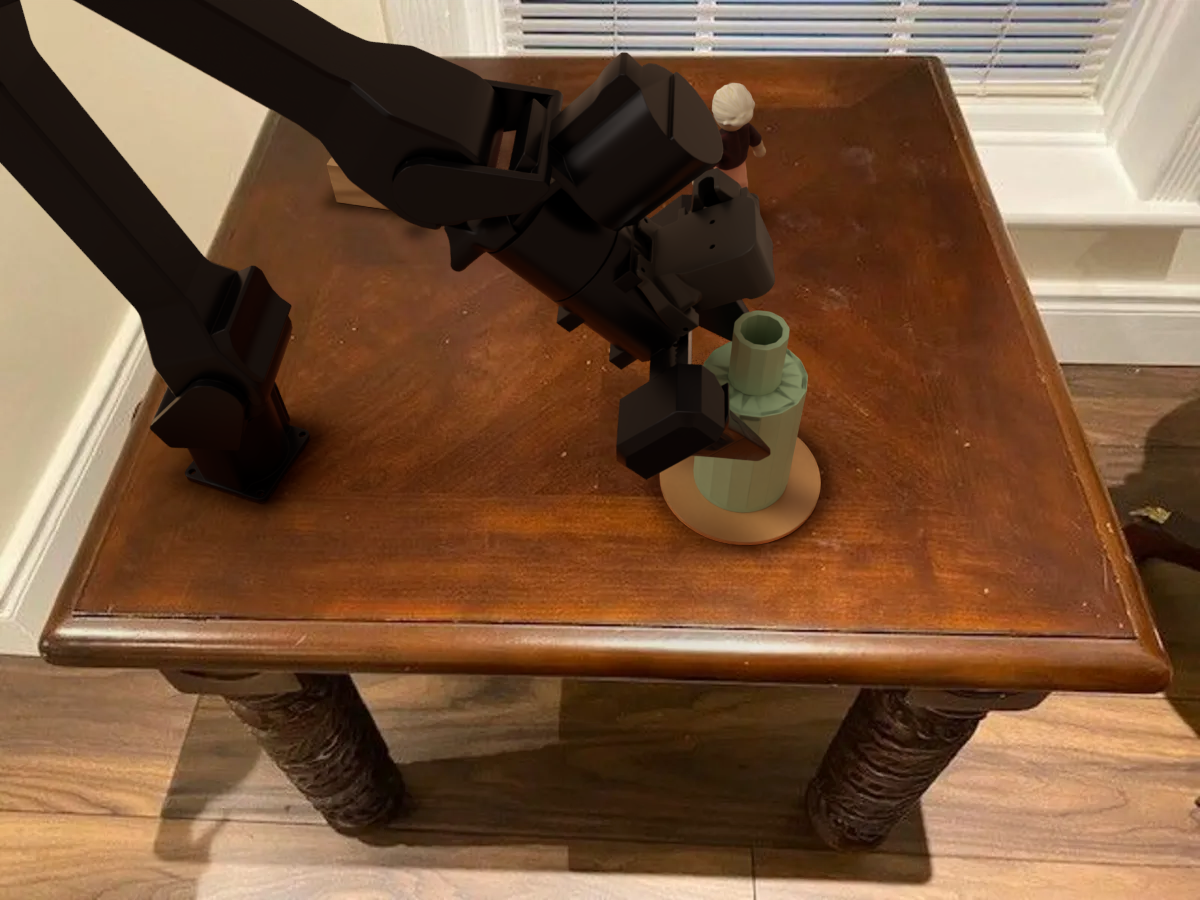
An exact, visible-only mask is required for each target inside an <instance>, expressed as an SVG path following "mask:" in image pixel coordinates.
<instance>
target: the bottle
mask: <svg viewBox="0 0 1200 900" xmlns="http://www.w3.org/2000/svg"><path fill="white" fill-rule="evenodd" d="M789 339H790V327H789V325H788V324H787V321H785V319H784V318H783V317H781V316H780V315H778V314H776V313H774V312H772V311H768V310H767V311H766V310H758V309H757V310H756V309H755V310H752V311H749V312H748V313H745V314H743V315H742V316H741V317H739V318H738V319H737V320H736V321H735V323H734V331H733V339H732V341H728V342H726V343H725V344H723V345H721V346H719V347H717V348H716V349H714V350H713V351H712V352H711V353H710V354H709V355H708V357H707V358H706V360H705V361H704V362H703V364H702V365H703V366H704V367H706V368H707V369H708V370H710V371H711V372H712V373H713V374H715V376H716V378H717V380H718V382H719V383H720V385H721V386H722V385H724V384H725V383H729V398H730V410H731V411H732V412H733V413H734V414H735V415H736V416H738V417H739V418H740V419H741V420H742V421H743V422H744V423H745V424H746V425H747V426H748V427H750V428H751V429H752V430H753V431H754V432H755V433H756V434H757V435H758V436H759V437H760V438H761V439H762V440H763V441H764V442H765V443H766V445H767V446H768V447H769V448H770V451H771V454H770V456H768V457H766V458H764V459H762V460H760V461H748V460H737V459H726V458H715V457H702V456H695V457H694V469H693V472H694V479H695V483H696V485H697V488H698V489H699V491H700V492H701V494H702V495H703V496H704V497H705V498H706V499H707V500H708V501H710V502H711V503H712V504H714V505H716V506H718V507H720V508H722V509H725V510H728V511H733V512H741V513H745V512H755V511H759V510H762V509H764V508H767V507H769V506H770V505H772V504H773V503H775V502H776V501H777V500H778V499H779V498H780V497H781V495H782V494H783V492H784V490H785V488H786V485H787V483H788V479H789V474H790V469H791V464H792V459H793V455H794V450H795V445H796V440H797V437H798V435H799V430H800V425H801V420H802V416H803V411H804V407H805V402H806V397H807V392H808V382H809V381H808V380H809V373H808V372H807V370H806V369H805V368H806V367H805V366H804V364H803V362H802V359H800V358H799V357H798V356H797V355H796V354H794V353H793V351H791V350H790V349H789V348H788V345H789Z"/></svg>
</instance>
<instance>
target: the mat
mask: <svg viewBox="0 0 1200 900" xmlns="http://www.w3.org/2000/svg"><path fill="white" fill-rule="evenodd" d="M694 457H695V456H690V457H688V458H686V459H685V460H683V461H681V462H679V463H677V464H675V465H673V466H672V467H670V468H668V469H666V470H664V471H662V472H661V473H659V485H660V490H661V494H662V496H663V499H664V501H665V503H666V504H667V507H668V508H669V509H670V511H671V513H673V515H674V516H675V517H676V518H677V519H678V520H679V521H680V522H681V523H683V524H684V525H685V526H686V527H687V528H689V529H690V530H692V531H693V532H694V533H697V534H699V535H701V536H703V537H704V538H707V539H710V540H712V541H715V542H719V543H724V544H726V545H727V544H729V545H735V546H755V545H762V544H768V543H771V542H774V541H777V540H781V539H782V538H784V537H786V536H789V535H790V534H792V533H793V532H795V531H797V530H798V529H799V528H801V526H802V525H804V524H805V523H806V522H807V520H808V519H809V518H810V517H811V515H812V513H813V512H814V510H815V508H816V507H817V503H818V501H819V497H820V492H821V485H822V484H821V482H822V480H821V472H820V469H819V466H818V463H817V460H816V458H815V456H814V455H813V453H812V452H811V450H810V448H809V447H808V446H807V444H805V442H804V441H803V440H802V439H801V438H800V437H798V436H797V440H796V445H795V450H794V455H793V459H792V464H791V469H790V474H789V479H788V483H787V485H786V488H785V490H784V492H783V494H782V495H781V497H780V498H779V499H778V500H777V501H776V502H775V503H773V504H772V505H770V506H769V507H767V508H764V509H762V510H759V511H755V512H745V513H741V512H733V511H728V510H725V509H722V508H720V507H718V506H716V505H714V504H712V503H711V502H710V501H708V500H707V499H706V498H705V497H704V496H703V495H702V494H701V492H700V491H699V489H698V488H697V485H696V483H695V479H694V472H693V469H694Z"/></svg>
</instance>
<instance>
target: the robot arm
mask: <svg viewBox="0 0 1200 900" xmlns="http://www.w3.org/2000/svg"><path fill="white" fill-rule="evenodd" d="M72 1H74V2H75V3H77V4H79V5H80V6H83V7H84V8H86V9H88V10H90V11H91V12H93V13H94V14H97V15H98V16H100V17H101V18H103V19H106V20H108V21H110V22H111V23H113V24H115V25H116V26H119V27H120V28H122V29H124V30H126V31H128V32H129V33H131V34H133V35H135V36H137V37H138V38H140V39H142V40H144V41H145V42H146V43H149V44H151V45H153V46H154V47H157V48H158V49H160V50H161V51H163V52H165V53H167V54H169V55H171V56H172V57H174V58H176V59H178V60H180V61H182V63H183V62H184V63H185V64H187V65H189V66H190V67H193V68H194V69H196V70H198V71H200V72H201V73H203V74H205V75H207V76H209V77H210V78H213V79H214V80H216V81H217V82H220V83H221V84H223V85H224V86H227V87H229V88H231V89H233V90H234V91H235V92H237V93H239V94H241V95H243V96H244V97H247V98H249V99H250V100H252V101H254V102H256V103H257V104H259V105H261V106H263V107H265V108H267V109H268V110H270V111H272V112H274V113H276V114H277V115H279V116H281V117H283V118H285V119H286V120H288V121H290V122H291V123H293V124H295V125H297V126H298V127H300V128H301V129H302V130H304V131H306V132H307V133H308V134H309V135H311V136H312V137H313V138H315V139H316V140H318V142H319V143H321V145H322V146H323V147H324V149H325V150H326V151H327V153H328V154H329V155H330V158H331V157H332V158H333V159H334V161H335V162H336V163H337V165H338V166H339V167H340V169H341V170H342V172H343V173H344V174H345V176H346V177H347V178H348V179H349V181H351V182H352V183H353V184H354V185H356V186H357V187H359V188H360V189H361V190H363V191H364V192H365V193H367V194H368V195H370V196H371V197H372V198H374V199H375V200H377V201H378V202H379V203H381V204H382V205H383V206H385V207H386V208H388V209H389V210H388V211H390V212H391V213H393V214H394V215H396V216H397V217H398V218H400V219H402V220H404V221H405V222H407V223H409V224H412V225H414V226H417V227H420V228H421V229H422V228H423V229H426V230H427V229H429V230H433V231H437V230H440V229H441V227H443V229H444V232H445V234H446V237H447V239H448V244H449V253H450V254H449V255H450V264H449V265H450V268H451V269H452V270H453V271H454V272H458V273H461V272H462V271H465V269H467V268H468V267H470V266H471V264H473V263H474V262H475V261H476V260H478V259H479V258H480V257H481V256H482V255H484V254H485V253H487V254H488V255H490V256H491V257H493V258H494V259H495V260H497V261H498V262H499V263H501V264H502V265H503V266H505V267H506V268H507V269H509V270H510V271H512V272H513V273H514V274H516V275H517V276H518V277H520V278H521V279H522V280H524V281H525V282H526V283H528V284H529V285H531V286H532V287H533V288H535V289H536V290H538V291H539V292H540V293H541V294H543V295H544V296H546V297H547V298H549V299H550V300H551V301H553V302H554V303H555V304H556V305H557V307H558V308H557V315H556V324H557V325H558V326H559V327H561V328H562V329H564V330H565V331H566V332H568V333H571V332H572V331H574V330H575V329H577V328H578V327H580V326H582V325H585V326H586V327H588V328H589V329H590V330H592V331H593V332H595V333H596V334H597V335H598V336H600V337H601V338H603V339H604V340H605V341H607V342H608V343H609V355H608V356H609V357H608V362H610V363H611V364H612V365H614V366H615V367H616V368H618V369H619V370H621V371H622V370H623V369H625V368H626V367H628V366H630V365H632V364H633V363H634V362H636V361H637V360H638V361H639V362H640V363H647V362H649V375H648V381H647V382H646V383H645V382H644V383H643V384H642V385H640V386H639V387H637V388H636V389H634V390H632V391H631V392H629V393H627V394H626V395H624V396H623V397H621V398H620V399H618V400H619V401H618V415H617V430H616V444H615V461H616V462H617V463H619V464H620V465H622V466H624V467H625V468H626V469H627V470H629V471H631V472H632V473H634V474H635V475H637V476H638V477H640V478H642V479H644V480H645V481H647V480H649V479H651V478H653V477H655V476H657V475H660V473H661V472H662V471H664V470H666V469H668V468H670V467H672V466H673V465H675V464H677V463H679V462H681V461H683V460H685V459H686V458H688V457H690V456H702V457H715V458H726V459H737V460H748V461H760V460H762V459H764V458H766V457H768V456H770V454H771V451H770V448H769V447H768V446H767V445H766V443H765V442H764V441H763V440H762V439H761V438H760V437H759V436H758V435H757V434H756V433H755V432H754V431H753V430H752V429H751V428H750V427H748V426H747V425H746V424H745V423H744V422H743V421H742V420H741V419H740V418H739V417H738V416H736V415H735V414H734V413H733V412H732V411H731V410H730V398H729V383H725V384H724V385H722V386H721V385H720V383H719V382H718V380H717V378H716V376H715V374H713V373H712V372H711V371H710V370H708V369H707V368H706V367H704V366H703V364H698V363H695V364H694V363H693V331H694V330H695V329H696V328H698V327H700V328H701V329H704V330H706V331H708V332H711V333H712V334H714V335H716V336H719V337H720V338H723V339H725V340H727V341H728V342H731V341H732V339H733V331H734V323H735V321H736V320H737V319H738V318H739V317H741V316H742V315H743V314H745V313H748V312H750V310H749V309H748V307H747V305H746V304H745V302H744V299H748V300H754V299H758V298H760V297H763V296H764V295H766V294H768V293H769V292H770V291H771V290H772V289H773V287H774V286H775V282H776V273H775V268H774V254H773V253H774V251H773V250H774V242H773V240H772V237H771V236H770V233H769V230H768V229H767V227H766V224H765V222H764V220H763V218H762V215H761V211H760V210H761V209H760V197H759V195H758V194H756V193H754V192H750V190H749V187H748V188H747V187H744V188H742V187H741V186H740V184H739V183H738V182H736V181H735V180H734V179H732V178H731V177H729V176H728V175H727V174H725V173H724V172H722V171H721V170H720V169H718V168H714V169H711V170H708V169H710V168H711V167H712V166H714V165H715V164H716V163H718V162H719V161H720V160H721V158H722V154H723V143H722V139H721V135H720V132H719V130H720V129H719V127H718V126H719V125H718V124H717V122H716V120H715V118H714V115H713V114H712V111H710V109H709V107H708V106H707V103H706V102H705V101H704V99H703V98H702V97H701V95H700V94H699V93H698V92H697V90H696V89H695V88H694V86H693V85H692V84H691V83H690V82H689V81H688V80H687V79H686V78H685V77H684V76H683V75H682V74H681V73H679V71H675V72H674V73H673V72H672V71H670V70H669V69H667V68H666V67H665V66H662V65H660V64H658V63H652V62H648V63H646V64H643V65H641V64H640V63H639V62H638V61H637V60H636V59H635V58H634V57H633V56H632V55H631V54H630V53H629V52H626V51H625V52H624V51H623V52H620V53H619V54H618V55H617V56H615V57H614V58H613V59H612V60H611V61H609V63H608V64H607V65H606V66H605V67H604V68H603V69H602V70H601V72H600V73H599V75H598V77H597V78H596V79H595V80H594V82H593V83H591V84H590V85H589V86H588V87H587V88H586V89H585V90H584V91H583V92H582V93H581V94H579V95H578V96H577V97H576V98H575V99H574V100H573V101H571V102H570V103H569V104H568V105H567V106H566V107H565V108H563V104H564V103H563V102H564V94H563V93H562V91H560V90H559V89H555V88H548V87H547V88H546V87H540V86H533V85H526V84H521V83H514V82H508V81H500V80H493V79H487V78H483V77H482V76H481V75H479V74H478V73H476V72H475V71H474V72H473V71H472V70H471V69H468V68H466V67H463V66H461V65H459V64H457V63H455V62H451V61H449V60H447V59H445V58H443V57H440V56H438V55H435V54H433V53H431V52H428V51H426V50H424V49H422V48H419V47H418V46H415V45H409V44H400V43H390V42H379V41H371V40H367V39H364V38H362V37H359V36H357V35H355V34H353V33H350V32H348V31H345V30H343V29H342V28H340V27H339V26H337V25H335V24H333V23H332V22H330V21H328V20H327V19H325V18H323V17H322V16H320V15H318V14H317V13H316V12H313V11H312V10H310V9H309V8H307V7H305V5H302V4H300V3H299V2H297V1H295V0H72ZM562 109H563V110H562ZM509 132H515V133H514V139H513V143H512V150H511V154H510V159H509V164H508V168H507V169H505V168H498V167H497V166H498V161H499V158H500V157H499V156H500V152H501V146H502V141H503V137H504V133H509ZM0 164H1V166H3V168H4V169H5V170H6V171H7V172H8V173H9V174H10V175H11V176H12V178H14V179H15V180H16V182H17V183H18V184H19V185H20V186H21V187H22V188H23V189H24V190H25V192H27V194H28V195H29V197H31V198H32V199H33V200H34V201H35V202H36V203H37V204H38V206H40V208H41V209H42V210H43V211H44V212H45V213H46V215H48V216H49V217H50V218H51V220H52V221H53V222H54V223H55V224H56V225H57V226H58V227H59V228H60V229H61V230H62V231H63V232H64V233H65V235H66V236H67V237H68V238H69V239H70V240H71V241H72V243H74V244H75V245H76V247H77V248H78V249H79V250H80V252H82V253H83V254H84V255H85V256H86V257H87V259H89V261H90V262H91V263H92V264H93V265H94V266H95V268H97V269H98V270H99V272H100V273H101V274H102V275H103V276H104V277H105V278H106V279H107V280H108V281H109V282H110V283H111V285H112V286H113V287H114V288H115V289H116V290H117V291H118V292H119V293H120V295H122V296H123V298H125V300H127V302H128V303H129V304H130V305H131V306H132V307H133V309H135V311H136V312H137V314H138V316H139V319H140V322H141V326H142V330H143V333H144V337H145V340H146V345H147V348H148V353H149V356H150V359H151V363H152V366H153V368H154V370H155V371H156V372H157V374H158V375H159V376H160V378H161V380H163V382H164V383H165V385H166V389H165V391H164V393H163V396H162V398H161V400H160V402H159V404H158V407H157V410H156V411H155V414H154V416H153V419H152V421H151V423H150V425H149V430H150V431H151V432H152V433H153V434H154V435H155V436H157V437H158V438H159V440H161V441H162V442H163V443H164V444H165V445H166V446H167V447H169V448H171V449H187V450H188V452H189V454H190V457H191V458H192V461H191V463H190V464H189V465H188V467H187V468H186V469H185V471H184V475H185V477H186V479H187V480H188V481H190V482H193V483H197V484H201V485H203V486H206V487H209V488H213V489H214V490H218V491H221V492H224V493H227V494H231V495H234V496H237V497H240V498H242V499H246V500H250V501H252V502H256V503H259V504H261V503H265V502H267V501H268V499H269V498H270V497H271V495H272V494H273V493H274V492H275V490H276V488H277V487H278V485H280V483H281V481H282V480H283V478H284V477H285V476H286V474H287V473H288V471H289V470H290V468H291V467H292V466H293V464H294V463H295V461H296V460H297V458H298V457H299V455H300V454H301V453H302V451H304V448H305V447H306V446H307V444H308V443H309V441H310V440H311V434H310V432H309V430H308V429H306V428H302V427H299V426H295V425H292V424H290V421H291V418H290V414H289V412H288V410H287V407H286V405H285V402H284V399H283V397H282V393H281V391H280V389H279V386H278V384H277V381H276V379H277V378H278V377H277V376H278V373H279V371H280V368H281V366H282V362H283V359H284V358H285V357H284V356H285V354H286V351H287V348H288V345H289V342H290V339H291V337H292V331H293V322H292V320H291V318H290V316H289V315H290V312H291V309H292V304H291V303H290V302H288V301H287V300H285V299H284V298H283V297H281V296H280V295H279V294H278V293H277V292H276V290H274V288H273V287H272V285H271V284H270V282H269V280H268V278H267V277H266V275H265V272H264V271H263V270H262V269H261V268H260V267H258V266H256V265H250V266H247V267H245V268H243V269H241V270H238V269H235V268H232V267H229V266H226V265H223V264H221V263H217V262H215V261H211V260H209V259H208V258H207V257H206V256H205V255H203V253H202V252H201V251H200V249H199V248H198V247H197V246H196V244H195V243H194V242H193V241H192V240H191V238H190V237H189V236H188V234H187V233H186V232H185V231H184V230H183V228H182V227H181V226H180V225H179V224H178V222H177V221H176V219H174V217H173V216H172V215H171V214H170V212H169V211H168V210H167V209H166V207H165V206H164V205H163V203H161V201H160V200H159V199H158V197H156V195H155V194H154V193H153V192H152V190H151V189H150V188H149V186H148V185H147V183H145V182H144V181H143V179H142V178H141V177H140V175H139V174H138V173H137V172H136V170H135V169H134V168H133V167H132V166H131V165H130V163H129V162H128V160H126V158H125V157H124V156H123V155H122V153H121V152H120V150H118V148H117V147H116V146H115V144H113V142H112V141H111V140H110V138H108V136H107V135H106V134H105V133H104V131H103V130H102V129H101V127H100V126H99V125H98V124H97V122H95V120H94V119H93V118H92V116H91V115H90V114H89V113H88V112H87V110H86V109H85V108H84V107H83V105H82V104H81V103H80V102H79V100H78V99H77V98H76V96H75V95H74V94H73V93H72V92H71V90H70V89H69V88H68V87H67V86H66V85H65V83H64V82H63V81H62V80H61V78H60V77H59V76H58V75H57V74H56V72H55V71H54V70H53V69H52V67H51V66H50V65H49V64H48V62H47V61H46V60H45V59H44V57H43V56H42V55H41V54H40V51H38V49H37V48H36V46H35V44H34V42H33V40H32V37H31V34H30V30H29V26H28V23H27V19H26V16H25V12H24V8H23V5H22V0H0ZM707 170H708V171H707ZM692 181H693V185H692V189H691V191H692V192H691V194H684V193H683V194H681V195H679V196H678V197H676V198H675V199H673V200H672V201H671V202H669V203H668V204H667V205H665V207H663V208H661V209H660V210H659V211H658V212H656V213H655V214H654V215H652V216H651V217H650V218H649V217H648V216H649V215H650V214H652V212H654V211H655V210H657V209H658V208H659V207H660V206H662V205H664V203H666V202H668V200H670V199H671V198H672V197H674V196H675V195H676V194H679V192H681V191H682V190H683V189H685V188H686V187H687V186H688V185H690V184H692Z"/></svg>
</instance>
